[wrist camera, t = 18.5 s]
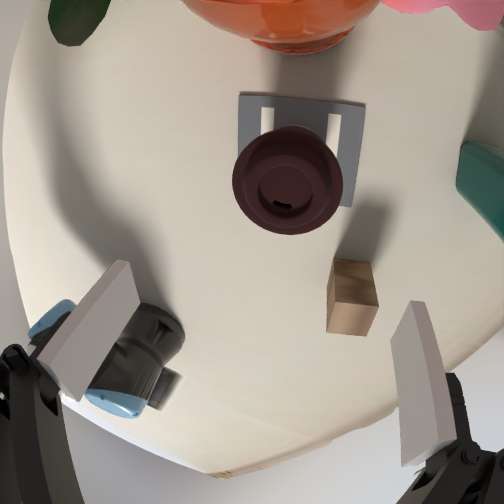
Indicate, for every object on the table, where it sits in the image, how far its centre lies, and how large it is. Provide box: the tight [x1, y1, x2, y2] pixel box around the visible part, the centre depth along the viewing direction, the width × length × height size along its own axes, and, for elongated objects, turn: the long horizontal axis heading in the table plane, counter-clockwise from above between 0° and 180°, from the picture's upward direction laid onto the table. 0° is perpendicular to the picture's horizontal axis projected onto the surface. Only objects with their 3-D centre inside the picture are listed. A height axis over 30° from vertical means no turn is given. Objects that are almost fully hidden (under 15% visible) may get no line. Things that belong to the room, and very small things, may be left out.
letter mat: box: [238, 95, 366, 207], centre depth 36 cm, size 16×14×1 cm
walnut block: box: [326, 258, 379, 336], centre depth 41 cm, size 6×6×10 cm
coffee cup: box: [232, 125, 343, 235], centre depth 30 cm, size 10×10×15 cm
